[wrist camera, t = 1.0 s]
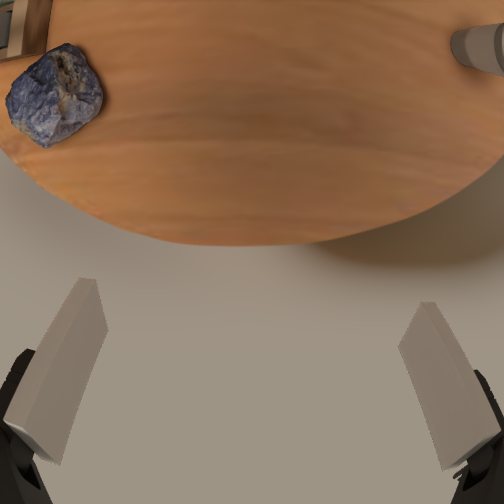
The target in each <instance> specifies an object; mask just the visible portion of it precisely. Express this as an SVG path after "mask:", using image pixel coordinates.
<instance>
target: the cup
mask: <svg viewBox="0 0 504 504" xmlns="http://www.w3.org/2000/svg"><path fill="white" fill-rule="evenodd" d="M451 50H452V53H453V55H454V57H455V58H456V59H457V61H458V62H460V63H461V64H462V65H465V66H469V67H473V68H477V69H479V70H481V71H485V72H488V73H492V74H496V75H499V76H502V77H504V23H499V24H491V25H485V26H478V27H473V28H471V29H467V30H462V31H457V32H455V33H454V34H453V36H452V38H451Z"/></svg>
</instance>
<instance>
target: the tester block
mask: <svg viewBox="0 0 504 504" xmlns="http://www.w3.org/2000/svg"><path fill="white" fill-rule="evenodd" d="M52 1H53V0H15V1H14V3H11V4H8V5H5V6H2V7H0V12H9V13H12V18H11V25H10V33H9V41H8V46H7V47H3V48H0V63H2V62H6V61H10V60H14V59H19V58H24V57H29V56H34V55H39V54H44V53H46V43H47V34H48V26H49V19H50V13H51V7H52Z"/></svg>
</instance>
